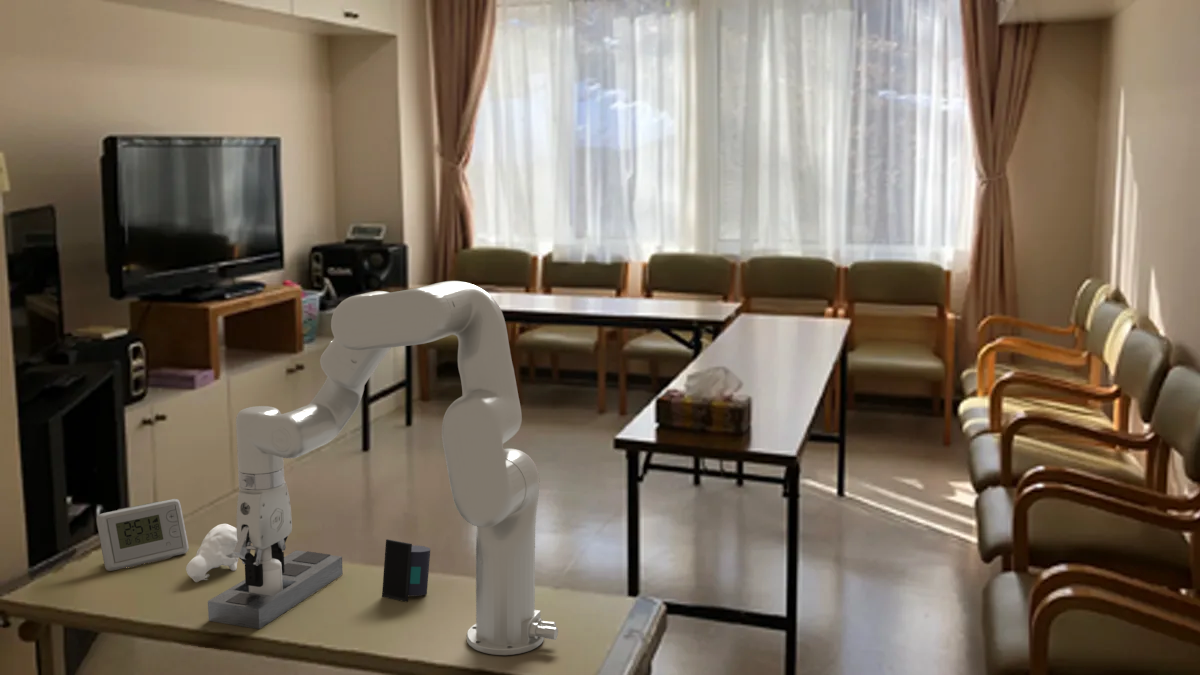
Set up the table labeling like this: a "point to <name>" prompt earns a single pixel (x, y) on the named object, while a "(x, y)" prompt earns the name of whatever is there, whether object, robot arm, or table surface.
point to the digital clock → (142, 534)
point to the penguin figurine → (214, 552)
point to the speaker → (405, 570)
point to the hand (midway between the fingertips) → (265, 578)
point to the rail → (298, 582)
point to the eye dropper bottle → (269, 575)
